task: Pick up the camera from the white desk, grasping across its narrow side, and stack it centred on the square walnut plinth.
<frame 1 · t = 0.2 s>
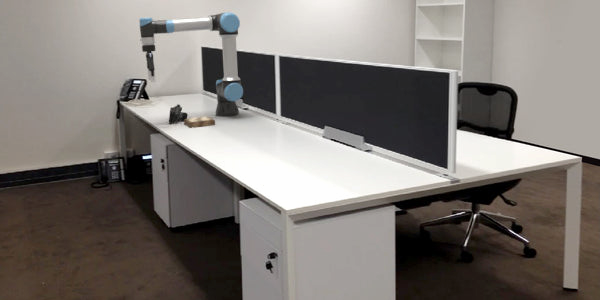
hand: (152, 80, 355), 27 cm above the table, fingers open, 13 cm apart
plinth: (199, 124, 358), on the table
camera: (179, 122, 372), on the table
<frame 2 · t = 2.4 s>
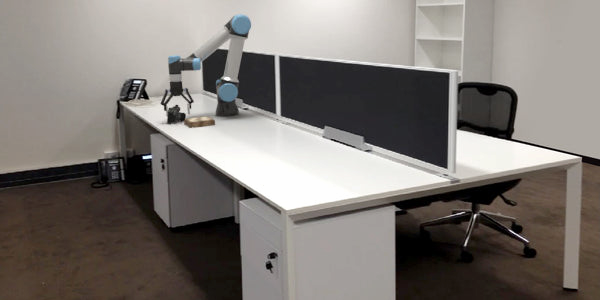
hand: (178, 115, 371), 4 cm above the table, fingers open, 13 cm apart
camera: (177, 122, 372), on the table, touching gripper
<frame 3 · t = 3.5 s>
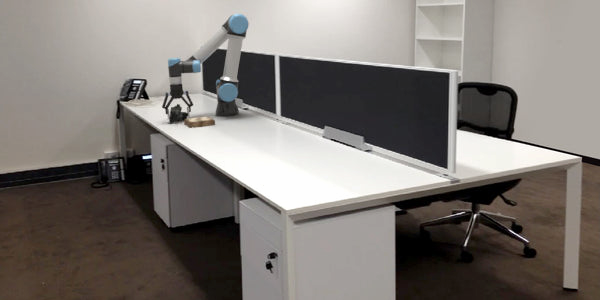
hand: (178, 118, 372), 2 cm above the table, fingers closed on camera, 12 cm apart
camera: (179, 121, 373), on the table, touching gripper
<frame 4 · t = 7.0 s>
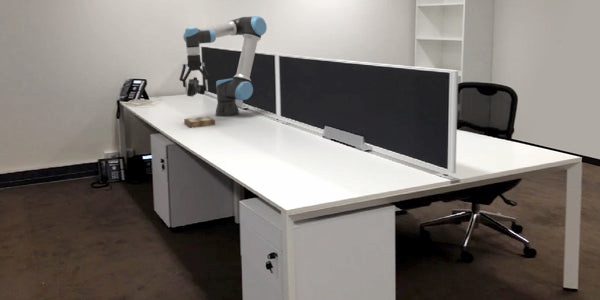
hand: (196, 91, 354), 20 cm above the table, fingers closed on camera, 11 cm apart
camera: (197, 95, 356), point 17 cm above the table, touching gripper
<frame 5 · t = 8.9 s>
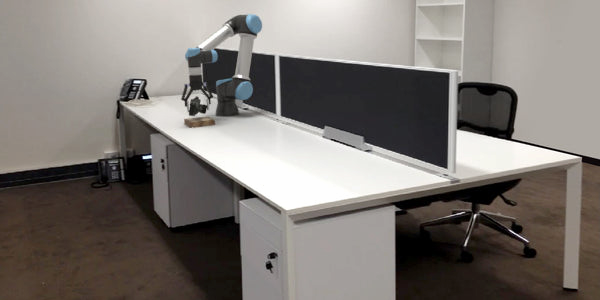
hand: (198, 111, 357), 8 cm above the table, fingers closed on camera, 11 cm apart
camera: (198, 114, 358), point 6 cm above the table, touching gripper
when the fingers open (6 cm above the table, at t = 10.5 s): camera stays where it is, resting on plinth.
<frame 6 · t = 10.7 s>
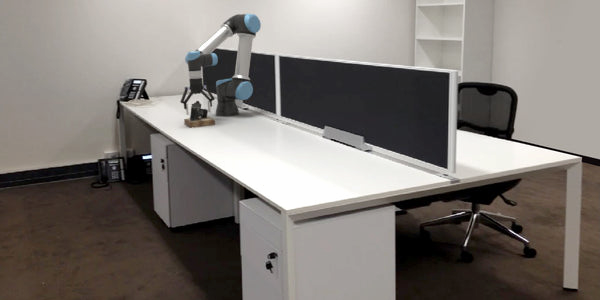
hand: (198, 113, 357), 7 cm above the table, fingers open, 13 cm apart
camera: (199, 119, 359), point 3 cm above the table, touching plinth
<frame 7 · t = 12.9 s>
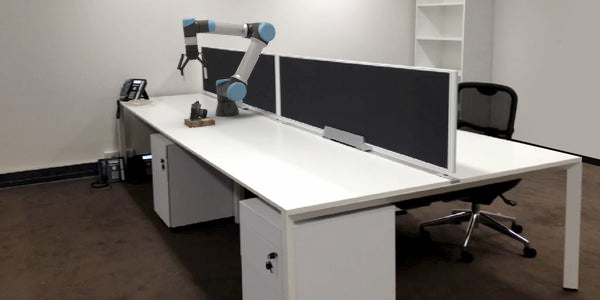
hand: (195, 79, 362), 26 cm above the table, fingers open, 13 cm apart
nothing on the table moved.
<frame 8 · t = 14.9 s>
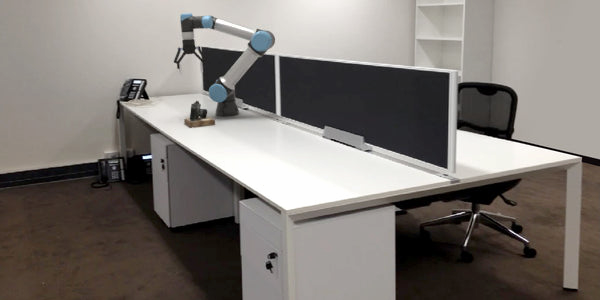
hand: (191, 73, 374), 29 cm above the table, fingers open, 13 cm apart
nothing on the table moved.
at the end: camera inside the target area on the plinth (1.0 cm from its centre), point 3.1 cm above the plinth's base; camera tilted 1°; camera touching plinth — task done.
